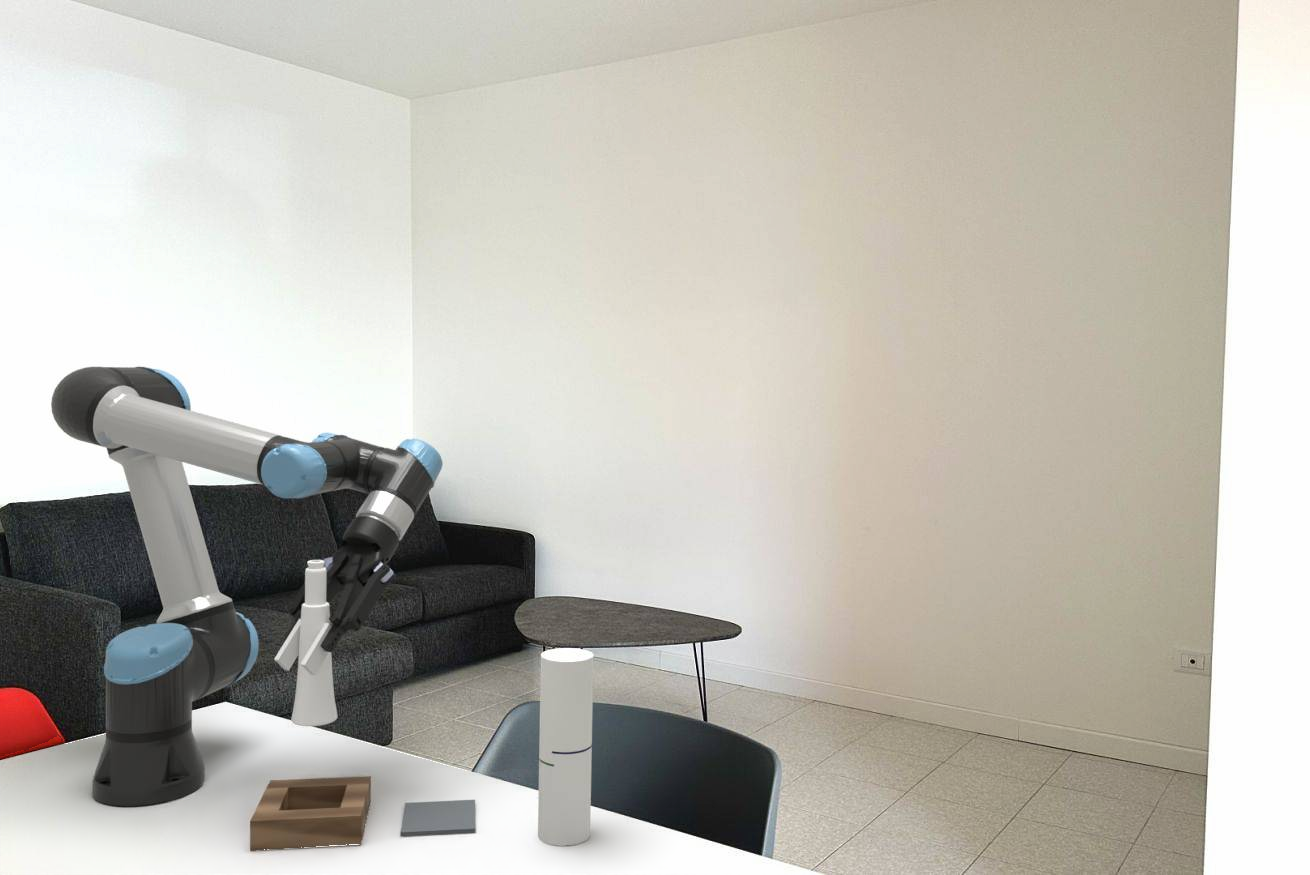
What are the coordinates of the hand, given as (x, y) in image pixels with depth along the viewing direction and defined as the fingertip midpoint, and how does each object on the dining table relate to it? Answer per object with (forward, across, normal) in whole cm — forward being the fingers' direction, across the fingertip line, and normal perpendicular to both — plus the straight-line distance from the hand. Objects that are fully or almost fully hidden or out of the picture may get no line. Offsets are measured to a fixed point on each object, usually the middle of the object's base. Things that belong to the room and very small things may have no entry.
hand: (294, 667), depth 141 cm
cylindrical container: (+4, -32, -29) cm, 43 cm away
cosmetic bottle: (+3, 0, -9) cm, 9 cm away
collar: (+14, 0, -19) cm, 23 cm away
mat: (+7, -14, -26) cm, 30 cm away
